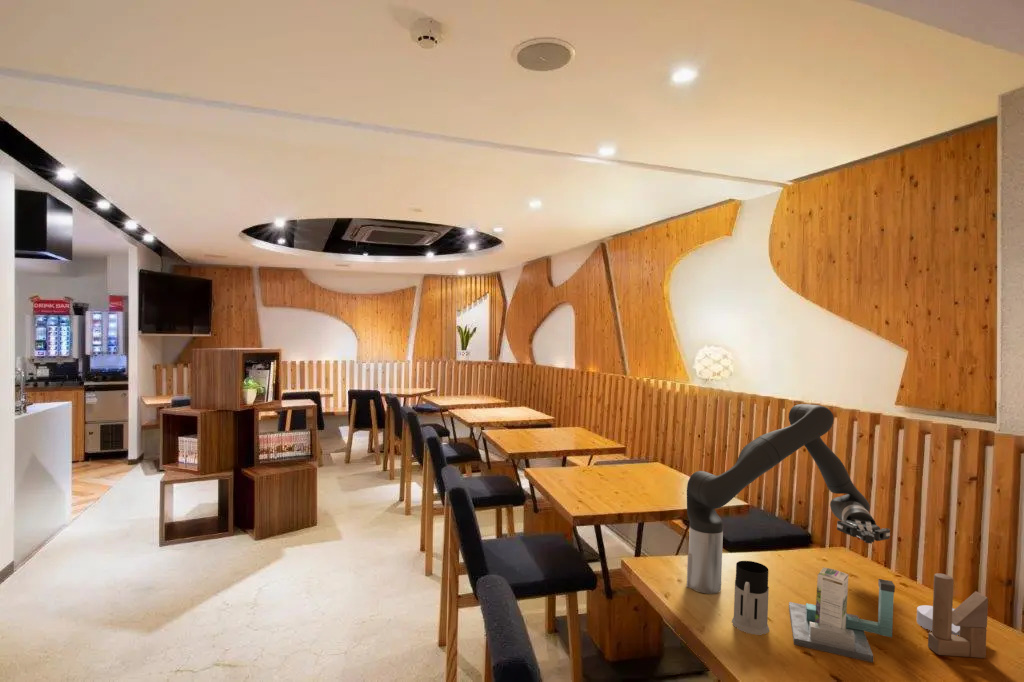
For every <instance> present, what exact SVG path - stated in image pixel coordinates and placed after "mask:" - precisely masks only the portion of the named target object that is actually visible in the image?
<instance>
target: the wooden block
mask: <svg viewBox="0 0 1024 682" xmlns="http://www.w3.org/2000/svg"><path fill="white" fill-rule="evenodd" d="M932 593H933V595H932V596H933V597H932V606H933V620H932V632H928V634H927V636H928V639H927V647H928V648H929V649H931V650H932V651H933V652H934V653H935V654H936V655H937V656H951V657H967V658H979V659H986V656H987V655H986V653H987V631H988V630H987V627H988V613H989V612H988V611H989V610H988V609H989V608H988V607H989V605H988V604H989V598H988V597H987V596H986V595H983V594H982V593H981V592H978V591H977V590H976V591H974V592H973V593H972V594H971V595H970V596H968V597H967V598H966V599H965V600H963V601H962V602H961V603H960V604H959V605H958V606H957V607H956V608H954V609H955V610H953V611H952V608H953V605H954V604H953V603H954V602H953V601H954V598H953V597H954V578H953V576H951V575H948V574H945V573H934V574H933V592H932ZM952 624H954V625H955V626H960V635H959V636H956V635H953V634H952Z"/></svg>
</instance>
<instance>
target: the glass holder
mask: <svg viewBox="0 0 1024 682" xmlns="http://www.w3.org/2000/svg"><path fill="white" fill-rule="evenodd" d="M735 565H736V566H735V580H734V598H733V599H734V601H733V602H734V604H733V605H734V606H733V617H732V618H731V624H732V623H733V624H732V626H733V627H734V626H735V628H736V627H737V628H738V629H737V628H736V629H737V630H738V631H740V632H743V631H744V632H743V633H745V632H746V634H749V633H750V634H749V635H753V634H755V636H763V635H762V634H764V635H767V634H768V633H769V632H770V627H769V624H768V620H769V618H768V613H769V591H770V590H769V589H770V587H769V567H768V566H766V565H764V564H763V563H760V562H757V561H752V560H740V561H739V560H738V561H737V562H736V564H735ZM766 633H767V634H766Z"/></svg>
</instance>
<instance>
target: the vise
mask: <svg viewBox="0 0 1024 682" xmlns="http://www.w3.org/2000/svg"><path fill="white" fill-rule="evenodd" d="M788 612H789V617H790V626H791V632H792V633H793V634H792V639H793V645H795V646H799V647H804V648H809V649H813V650H817V651H821V652H825V653H830V654H833V655H839V656H844V657H847V658H851V659H854V660H859V661H860V660H861V661H865V662H870V663H874V654H873V651H872V648H871V646H870V643H869V641H868V638H867V636H866V633H865V631H861V630H857V629H852V628H848V629H843V628H838V627H834V626H829V625H824V624H820V623H815V622H813V621H808V620H807V619H806V604H803V603H802V604H801V603H797V602H792V601H788ZM847 615H848V616H849V617H854V618H859V615H856V614H852V613H847Z"/></svg>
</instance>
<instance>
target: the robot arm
mask: <svg viewBox="0 0 1024 682" xmlns="http://www.w3.org/2000/svg"><path fill="white" fill-rule="evenodd" d="M788 420H789V421H788V422H789V424H790V425H788V426H786V427H783V428H779V429H775V430H772V431H769V432H767V433H764V434H761V435H759V436H757V437H756V438H754V439H753V440H751V441H750V442H749V443H747V444H746V445H745V446H744V447H743V448H742V449H741V451H740V452H739V455H738V457H737V461H736V462H735V463H734V465H732V467H730V468H729V469H727V470H726V471H724V472H722V473H721V474H719V475H716V474H713V473H710V472H707V471H704V470H697V471H695V472H693V473H692V474H691V475H690V477H689V479H688V481H687V486H686V514H687V517H688V520H689V529H688V530H689V532H688V533H689V534H688V552H687V563H686V565H687V568H686V570H687V571H686V587H687V588H689V589H692V590H693V591H696V592H698V593H703V594H707V595H713V594H719V593H720V592H721V590H722V576H723V575H722V574H723V573H722V572H723V571H722V570H723V569H722V567H723V542H724V541H723V539H724V538H723V537H724V521H723V520H722V518H721V517H720V515H718V513H717V511H716V510H717V509H720V508H722V507H724V506H726V505H727V504H728V503H730V502H731V501H732V499H734V498H735V497H737V495H738V494H739V493H741V491H742V490H744V489H745V488H746V487H747V486H749V485H750V484H751V483H753V482H754V481H756V480H757V479H758V478H760V476H762V475H764V474H765V473H767V472H769V471H770V470H772V468H774V467H775V466H777V465H778V464H780V463H781V462H782V461H784V460H785V459H786V458H788V457H789V456H790V455H792V454H794V453H795V452H796V451H798V450H799V449H800V448H803V447H805V448H806V450H807V451H808V453H809V455H810V456H811V458H812V459H813V461H814V462H815V464H816V466H817V468H818V469H819V472H820V474H821V476H822V479H823V481H824V483H825V484H826V487H827V488H828V490H829V491H830V493H833V494H839V495H840V494H842V495H840V496H836V497H833V498H832V499H831V500H830V503H829V506H830V510H831V513H832V514H833V515H834V516H835V517H836V518H837V519H838V520H836V521H837V523H836V524H837V525H836V530H837V531H839V532H841V533H843V534H845V535H848V536H850V537H853V538H858V539H860V540H861V541H863V542H864V543H865V544H870V545H872V544H873V543H875V541H876V542H881V541H884V540H890V539H891V537H890V536H891V529H890V528H887V527H886V528H885V527H884V528H883V527H882V528H881V527H880V526H879V525H877V523H876V521H875V519H874V518H873V516H872V515H871V513H870V509H871V507H870V506H871V505H870V502H869V501H868V500H867V498H866V497H865V496H864V495H863V494H862V492H860V490H859V489H857V487H856V486H855V485H854V482H853V481H852V479H851V478H850V475H849V473H848V471H847V469H846V467H845V465H844V463H843V461H841V459H840V458H839V457H838V456H837V455H836V454H835V452H834V451H833V450H832V449H831V448H830V447H829V446H828V445H827V444H826V443H825V442H824V441H823V439H822V436H824V435H825V434H827V433H828V432H829V431H830V430H831V429H832V427H833V424H834V422H835V421H834V420H835V418H834V414H833V412H832V411H831V409H829V408H828V407H826V406H824V405H823V406H822V405H820V404H809V403H807V404H806V403H800V404H796V405H793V406H792V407H791V408H790V410H789V412H788ZM843 494H844V495H843Z"/></svg>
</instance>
